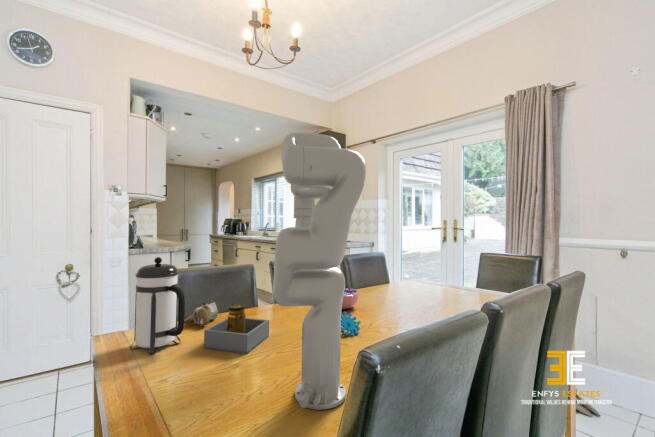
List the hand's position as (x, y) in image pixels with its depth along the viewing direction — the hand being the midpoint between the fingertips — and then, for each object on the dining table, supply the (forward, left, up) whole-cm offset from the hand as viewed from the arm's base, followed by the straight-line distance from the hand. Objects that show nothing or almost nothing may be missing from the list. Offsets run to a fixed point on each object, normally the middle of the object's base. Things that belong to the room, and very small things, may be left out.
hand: (303, 262), depth 108 cm
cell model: (+48, -4, -28) cm, 56 cm away
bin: (-6, +22, -28) cm, 36 cm away
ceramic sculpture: (+8, +47, -29) cm, 55 cm away
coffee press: (-17, +45, -28) cm, 56 cm away
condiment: (-6, +22, -28) cm, 36 cm away
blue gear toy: (+14, -14, -29) cm, 35 cm away
